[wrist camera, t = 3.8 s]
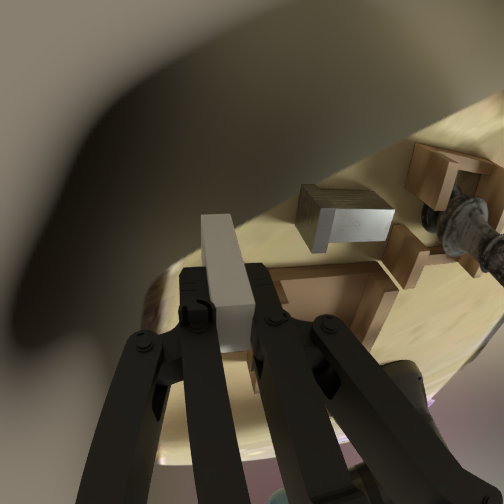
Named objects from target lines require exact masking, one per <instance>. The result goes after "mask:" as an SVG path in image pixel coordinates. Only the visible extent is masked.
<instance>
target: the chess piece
mask: <svg viewBox="0 0 504 504" xmlns="http://www.w3.org/2000/svg"><path fill="white" fill-rule="evenodd" d="M487 219H488V208H487V204H486V202H485V201H484V200H483V199H482V198H480V197H472V196H470V195H462V192H461V189H460V188H459V187H458V185H456V184H455V183H454V186H453V189H452V192H451V195H450V199H449V202H448V205H447V208H446V210H445V211H434V210H433V209H432V208H431V207H429V206H428V205H427V204H426V203H425V204H424V206H423V210H422V224H423V226H424V228H425V230H427V231H428V232H429V233H437V235H438V238H439V240H440V242H441V244H442V248H443V250H444V252H445V253H446V254H447V255H448V256H451V257H456V256H461V255H463V254H465V253H466V252H467V253H468V254H470V255H471V256H472V257H473V258H474V259H475V260H476V261H477V262H478V263H479V264H480V269H481V271H482V272H484V273H487V272H490V273H491V274H492V276H493V277H494V278H495V279H496V280H497V281H498V282H499V283H500V284H501V285H502V286H503V287H504V234H501V235H500V234H499V233H498V232H497V231H496V230H494V229H493V228H492V227H491V226H490V225H489V224H488V223H487Z"/></svg>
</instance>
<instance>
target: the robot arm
mask: <svg viewBox="0 0 504 504" xmlns="http://www.w3.org/2000/svg"><path fill="white" fill-rule="evenodd" d="M201 251H202V266H203V267H185V268H183V270H182V271H181V273H180V275H179V289H180V306H179V310H178V314H179V323H178V325H177V326H176V327H175V328H173V329H172V330H171V331H168V332H166V333H163V334H160V335H158V334H157V333H155V332H153V331H150V330H141V331H138V332H135V333H134V334H132V335H131V336H130V337H129V338H128V340H127V342H126V344H125V347H124V350H123V352H122V355H121V358H120V361H119V363H118V366H117V368H116V371H115V374H114V377H113V379H112V382H111V385H110V388H109V391H108V394H107V397H106V400H105V403H104V406H103V409H102V412H101V415H100V418H99V421H98V424H97V427H96V430H95V434H94V437H93V440H92V444H91V447H90V450H89V454H88V457H87V461H86V464H85V468H84V471H83V476H82V479H81V483H80V487H79V491H78V495H77V499H76V503H75V504H147V499H148V493H149V488H150V482H151V477H152V472H153V467H154V462H155V457H156V452H157V447H158V442H159V437H160V433H161V428H162V423H163V419H164V414H165V410H166V405H167V401H168V397H169V392H170V388H171V384H174V383H177V382H180V381H182V380H184V392H185V403H186V413H187V423H188V432H189V441H190V449H191V457H192V464H193V472H194V478H195V485H196V491H197V498H198V504H251V502H250V498H249V493H248V489H247V485H246V480H245V476H244V471H243V466H242V462H241V457H240V452H239V447H238V442H237V438H236V433H235V428H234V422H233V417H232V412H231V407H230V401H229V396H228V391H227V385H226V379H225V374H224V368H223V362H222V356H221V353H227V352H237V351H247V350H250V345H251V346H252V350H253V355H252V363H251V371H254V370H255V375H256V379H257V383H258V387H259V391H260V395H261V399H262V403H263V407H264V411H265V415H266V419H267V423H268V427H269V431H270V435H271V439H272V443H273V447H274V450H275V454H276V458H277V462H278V466H279V469H280V473H281V477H282V481H283V484H284V488H283V489H280V490H277V491H275V492H274V493H273V494H272V495H271V496H270V498H269V501H268V504H503V498H502V494H501V492H500V491H499V490H498V489H497V488H496V487H494V486H492V485H491V484H489V483H487V482H485V481H484V480H481V479H480V478H478V477H477V476H475V475H473V474H471V473H470V472H468V471H466V470H465V469H463V468H462V467H461V465H460V464H459V463H458V461H457V460H456V459H455V458H454V456H453V455H452V454H451V453H450V451H449V449H448V447H447V445H446V443H445V441H444V440H443V437H442V436H441V433H440V432H439V430H438V428H437V426H436V424H435V422H434V421H433V418H432V417H431V415H430V413H429V410H428V406H427V399H426V393H425V388H424V384H423V377H422V374H421V372H420V370H419V369H418V367H417V365H416V364H415V363H414V362H412V361H400V362H395V363H392V364H389V365H386V366H383V367H381V366H380V365H379V364H378V363H377V361H376V360H375V359H374V358H373V357H372V355H371V354H370V353H369V352H368V351H367V349H366V348H365V347H364V346H363V345H362V343H361V342H360V341H359V340H358V339H357V337H356V336H355V335H354V334H353V333H352V332H351V330H350V329H349V328H348V327H347V326H346V324H345V323H344V322H343V321H342V320H341V319H339V318H338V317H336V316H334V315H329V314H324V315H319V316H318V317H316V318H315V320H314V321H313V322H310V321H303V320H298V319H295V318H293V317H291V316H290V314H289V313H288V312H287V311H285V310H284V309H283V307H282V305H281V302H280V299H279V297H278V294H277V291H276V289H275V286H274V283H273V280H272V279H271V275H270V272H269V270H268V269H267V268H266V267H265V266H264V265H263V264H262V263H245V264H244V262H243V258H242V255H241V251H240V248H239V244H238V241H237V237H236V233H235V230H234V226H233V223H232V219H231V216H230V214H212V215H201ZM325 406H326V407H327V409H328V410H329V412H330V413H331V415H332V416H333V418H334V420H335V422H336V423H337V425H338V426H339V427H340V428H341V429H342V431H343V432H344V433H345V435H346V436H347V438H348V439H349V441H350V442H351V443H352V445H353V446H354V448H355V449H356V451H357V452H358V453H359V455H360V456H361V457H362V459H363V462H361V463H359V464H356V465H354V466H351V467H349V468H347V465H346V463H345V460H344V457H343V454H342V451H341V449H340V446H339V443H338V440H337V438H336V435H335V432H334V429H333V427H332V424H331V421H330V418H329V416H328V413H327V410H326V408H325Z"/></svg>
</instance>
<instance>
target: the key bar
mask: <svg viewBox="0 0 504 504" xmlns="http://www.w3.org/2000/svg"><path fill="white" fill-rule="evenodd" d="M394 212H395V209H394V208H392V207H391V206H390V205H389V204H388V203H387V202H386V201H385V200H383V199H382V198H381V197H380V196H379V195H378V194H376V193H375V192H374V191H355V190H327V189H319V188H318V187H317V186H316V185H314V184H301V190H300V196H299V203H298V209H297V216H296V222H295V226H296V228H297V229H298V231H299V233H300V234H301V236H302V238H303V239H304V241H305V243H306V245H307V246H308V248H309V250H310V251H311V253H326V251H327V247H328V243H340V242H365V241H386V238H387V234H388V231H389V228H390V225H391V222H392V218H393V215H394Z"/></svg>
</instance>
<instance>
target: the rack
mask: <svg viewBox="0 0 504 504" xmlns="http://www.w3.org/2000/svg"><path fill="white" fill-rule="evenodd" d="M268 270H269V272H270V275H271V279H272V280H273V283H274V286H275V289H276V291H277V294H278V297H279V299H280V302H281V305H282V307H283V309H284V310H285V311H287V312H288V313H289V314H290V316H291V317H293V318H295V319H298V320H303V321H310V322H313V321H314V320H315V318H316V317H318V316H319V315H324V314H329V315H334V316H336V317H338V318H339V319H341V320H342V321H343V322H344V323H345V324H346V326H347V327H348V328H349V329H350V330H351V332H352V333H353V334H354V335H355V336H356V337H357V339H358V340H359V341H360V342H361V343H362V345H363V346H364V347H365V348H366V349H367V351H368V352H370V350H371V348H372V346H373V344H374V342H375V340H376V338H377V337H378V335H379V333H380V331H381V329H382V326H383V324H384V322H385V320H386V318H387V316H388V314H389V312H390V310H391V308H392V305H393V303H394V301H395V299H396V297H397V294H398V292H399V289H398V288H397V287H396V285H395V284H394V283H393V281H392V280H391V279H390V277H389V276H388V275H387V274H386V272H385V271H384V270H383V268H382V267H381V266H380V265H379V263H378V262H363V263H350V264H335V265H321V266H306V267H290V268H274V269H268ZM252 355H253V350H252V346H251V345H250V350H248V356H247V364H248V369H249V373H250V378H251V382H252V386H253V391H254V394H258V393H260V391H259V387H258V383H257V379H256V375H255V370H254V371H251V363H252Z"/></svg>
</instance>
